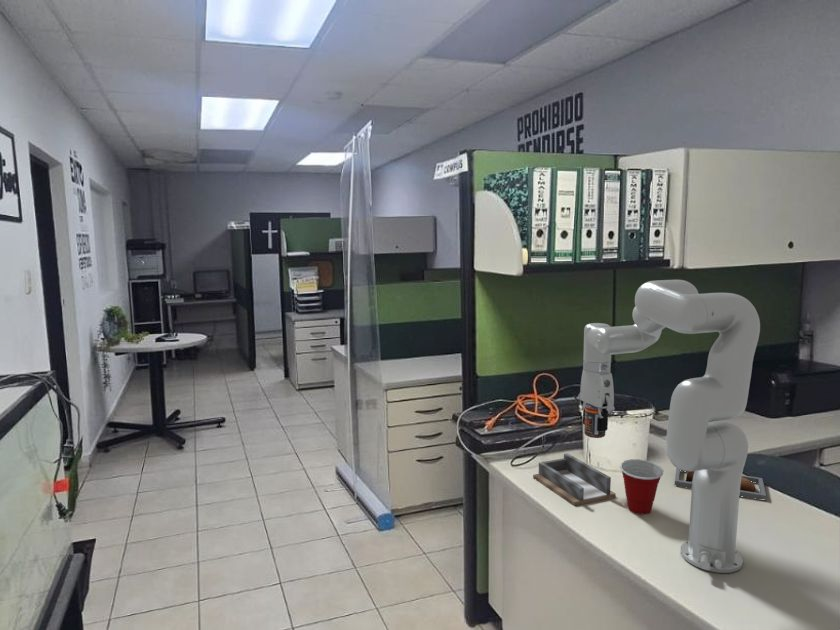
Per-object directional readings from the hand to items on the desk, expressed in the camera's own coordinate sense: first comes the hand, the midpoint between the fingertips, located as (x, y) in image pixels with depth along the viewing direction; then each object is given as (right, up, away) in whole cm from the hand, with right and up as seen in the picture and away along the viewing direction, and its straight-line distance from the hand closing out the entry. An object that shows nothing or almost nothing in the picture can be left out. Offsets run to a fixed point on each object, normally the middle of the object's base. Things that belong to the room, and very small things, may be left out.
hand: (594, 426), depth 171 cm
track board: (-7, -17, 0) cm, 19 cm away
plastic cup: (+7, -20, -15) cm, 26 cm away
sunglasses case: (+37, -18, +2) cm, 41 cm away
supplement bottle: (0, -3, 0) cm, 3 cm away
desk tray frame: (+36, -17, +1) cm, 40 cm away
